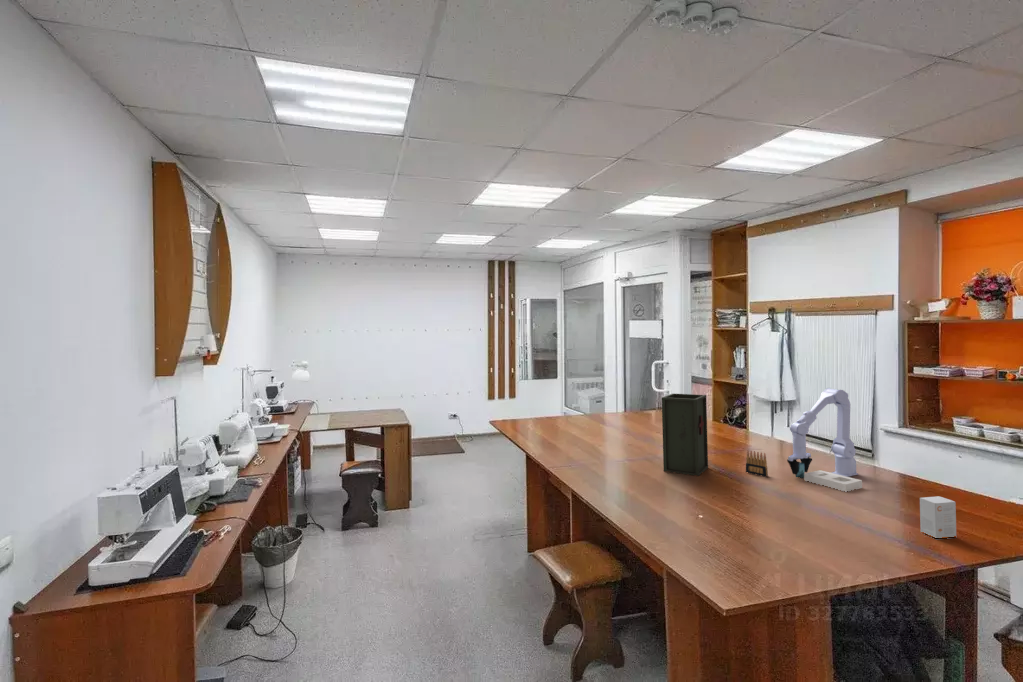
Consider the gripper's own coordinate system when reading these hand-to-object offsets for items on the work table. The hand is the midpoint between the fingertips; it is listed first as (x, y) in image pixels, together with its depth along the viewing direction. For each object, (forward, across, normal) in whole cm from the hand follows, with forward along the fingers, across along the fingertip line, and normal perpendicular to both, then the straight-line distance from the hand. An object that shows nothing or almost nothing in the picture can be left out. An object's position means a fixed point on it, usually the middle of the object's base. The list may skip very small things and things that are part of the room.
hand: (800, 473), depth 251 cm
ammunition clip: (+2, -14, +14) cm, 20 cm away
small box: (+2, -23, -69) cm, 73 cm away
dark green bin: (+2, -38, +39) cm, 54 cm away
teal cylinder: (+2, 0, 0) cm, 2 cm away
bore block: (+2, +2, -15) cm, 15 cm away
